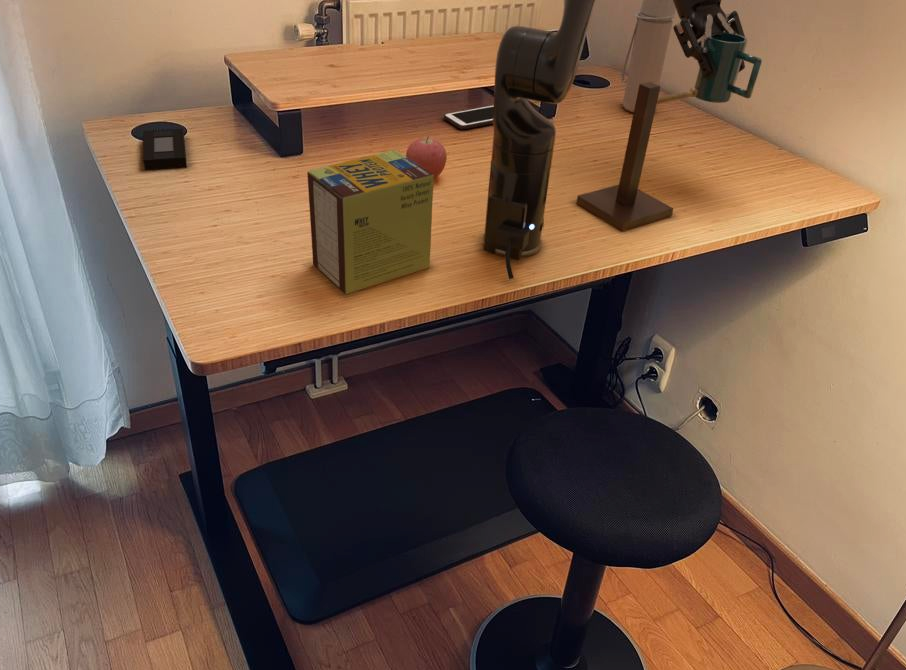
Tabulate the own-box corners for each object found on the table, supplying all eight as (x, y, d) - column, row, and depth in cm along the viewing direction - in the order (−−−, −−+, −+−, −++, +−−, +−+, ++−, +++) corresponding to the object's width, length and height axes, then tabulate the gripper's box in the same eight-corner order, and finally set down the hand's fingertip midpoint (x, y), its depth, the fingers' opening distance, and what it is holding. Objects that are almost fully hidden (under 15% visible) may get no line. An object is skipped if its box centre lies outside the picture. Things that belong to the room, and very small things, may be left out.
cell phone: (441, 118, 171) (442, 114, 171) (497, 108, 178) (497, 104, 177) (461, 130, 166) (461, 126, 166) (517, 119, 172) (517, 115, 172)
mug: (685, 93, 140) (699, 34, 134) (710, 88, 143) (725, 30, 137) (733, 113, 133) (751, 52, 127) (758, 107, 136) (777, 47, 130)
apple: (418, 166, 151) (419, 125, 146) (451, 176, 149) (454, 134, 144) (398, 180, 146) (398, 138, 141) (432, 190, 144) (434, 147, 139)
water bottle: (660, 109, 182) (686, -8, 166) (642, 117, 177) (667, -3, 161) (626, 99, 186) (649, -17, 171) (607, 106, 182) (629, -12, 166)
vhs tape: (144, 170, 145) (142, 160, 144) (145, 140, 156) (143, 130, 154) (186, 167, 147) (185, 157, 145) (184, 138, 157) (182, 128, 156)
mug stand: (622, 231, 134) (649, 102, 120) (576, 203, 142) (597, 79, 128) (694, 209, 142) (728, 85, 128) (647, 183, 150) (674, 64, 136)
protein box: (431, 268, 122) (435, 173, 112) (345, 296, 115) (342, 198, 105) (394, 239, 129) (395, 148, 119) (310, 264, 121) (305, 169, 112)
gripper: (678, -27, 130) (713, 68, 129) (736, -33, 136) (770, 57, 136) (648, 1, 136) (681, 90, 136) (705, -6, 143) (737, 79, 142)
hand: (725, 73), depth 136 cm, fingers closed on mug, 6 cm apart
